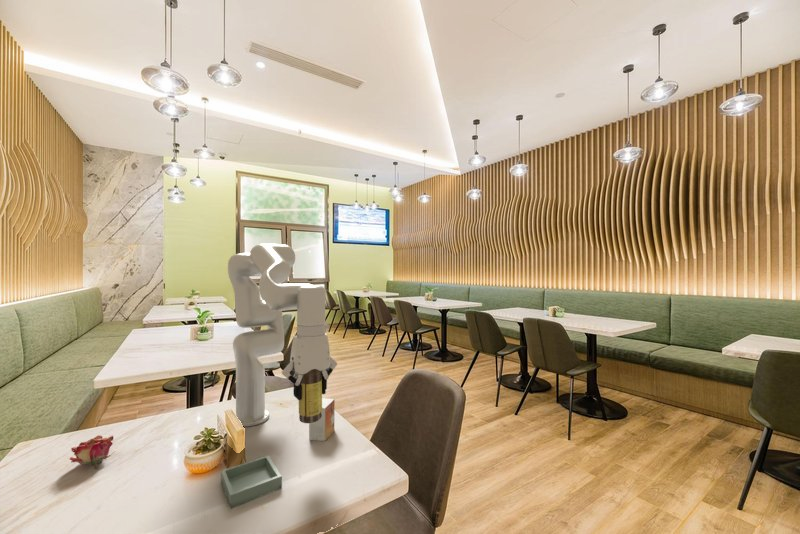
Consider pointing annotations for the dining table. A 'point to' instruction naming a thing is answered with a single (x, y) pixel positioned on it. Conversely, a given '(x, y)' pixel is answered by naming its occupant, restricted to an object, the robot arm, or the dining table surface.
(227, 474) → the tray
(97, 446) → the flower
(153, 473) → the dining table surface
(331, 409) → the small box
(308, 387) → the sauce bottle
